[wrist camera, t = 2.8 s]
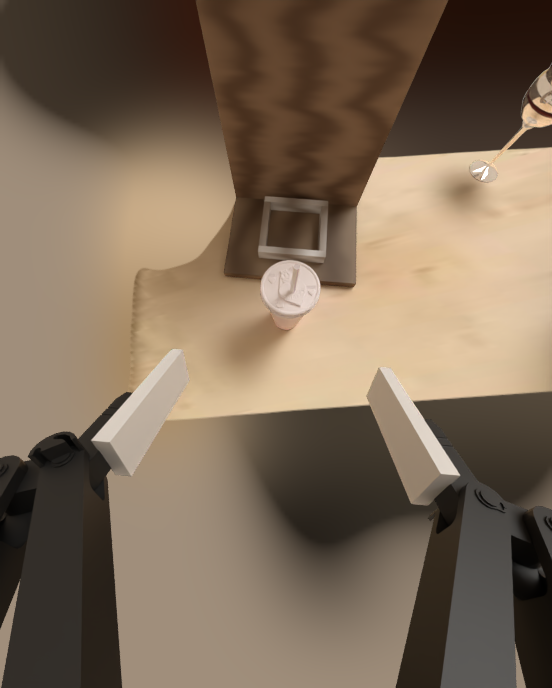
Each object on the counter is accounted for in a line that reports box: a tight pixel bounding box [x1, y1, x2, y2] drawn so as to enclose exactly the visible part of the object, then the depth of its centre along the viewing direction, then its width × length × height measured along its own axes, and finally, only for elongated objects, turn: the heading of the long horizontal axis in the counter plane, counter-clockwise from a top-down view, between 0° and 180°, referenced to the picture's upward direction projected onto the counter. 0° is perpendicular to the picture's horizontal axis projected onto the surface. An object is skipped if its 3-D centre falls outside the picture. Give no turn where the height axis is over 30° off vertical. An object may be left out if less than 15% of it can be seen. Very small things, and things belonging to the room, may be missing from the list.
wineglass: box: [470, 64, 552, 182], centre depth 31 cm, size 7×7×12 cm
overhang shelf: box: [196, 0, 448, 287], centre depth 22 cm, size 20×16×25 cm
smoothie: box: [260, 260, 320, 330], centre depth 24 cm, size 6×6×14 cm
